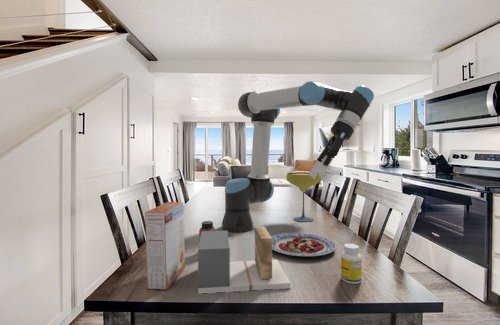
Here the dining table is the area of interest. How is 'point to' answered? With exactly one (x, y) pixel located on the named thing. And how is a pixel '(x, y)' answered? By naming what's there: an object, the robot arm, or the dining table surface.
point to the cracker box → (164, 244)
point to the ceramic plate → (302, 244)
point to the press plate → (263, 252)
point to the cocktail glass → (303, 187)
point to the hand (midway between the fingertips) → (314, 175)
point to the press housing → (231, 268)
